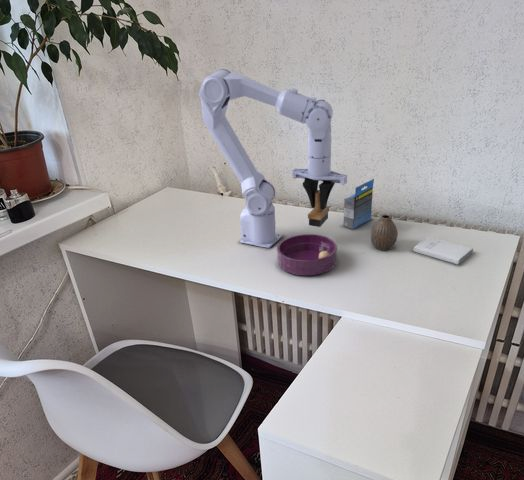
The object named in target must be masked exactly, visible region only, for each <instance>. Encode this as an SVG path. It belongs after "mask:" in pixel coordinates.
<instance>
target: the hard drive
mask: <svg viewBox="0 0 524 480" xmlns="http://www.w3.org/2000/svg"><path fill="white" fill-rule="evenodd" d="M412 252H414V253H417V254H421V255H424V256H426V257H431V258H435V259H437V260H441V261H445V262H447V263H451V264H453V265H456V266H457V265H460V264H461V263H463V262H464V261H465V260H466V259H467V258H469V257H470V256H471V255H472V254H473V252H474V248H473V247H470V246H467V245H462V244H459V243H455V242H451V241H447V240H443V239H441V238H436V237H434V236H433V237H432V236H427V237H425V238H424V239H422V240H421V241H420V242H418V243H417V244H415V245H414V247H413V250H412Z"/></svg>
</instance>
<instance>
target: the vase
mask: <svg viewBox="0 0 524 480" xmlns="http://www.w3.org/2000/svg"><path fill="white" fill-rule="evenodd" d="M398 235H399V231H398V227H397V225H396V223H395V222H394V221H393V219H392V216H391V215H390V214H382V215H381V216H380V217H379V219H378V220H377V221H376V222H375V223H374V225H373V226H372V229H371V230H370V241H371V244H372V246H373V247H374V248H375V249H376V250H378V251H389V250H390V249H392V248H393V247H394V246H395V245H396V242H397V240H398Z"/></svg>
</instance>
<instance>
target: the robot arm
mask: <svg viewBox="0 0 524 480" xmlns="http://www.w3.org/2000/svg"><path fill="white" fill-rule="evenodd" d="M298 91H299V90H298V89H296V88H294V87H293V88H292V89H288V88H286V89H284V90H283V91H279V90H276V89H274V88H272V87H270V86H267V85H265V84H263V83H261V82H259V81H256V80H254V79H252V78H250V77H248V76H246V75H244V74H242V73H239V72H237V71H231V70H230V69H228V68H219V69H216V70H215V71H214V73H212V74H211V75H208V76H206V77H205V78H204V79H203V81H202V83H201V87H200V89H199V94H198V97H199V98H200V102H201V113H202V121H203V123H204V125H205V127H206V128H207V130H208V131H209V133H210V135H211V137H212V138H213V140H214V141H215V143H216V145H217V146H218V148H219V150H220V152H221V153H222V154H223V156H224V157H225V159H226V161H227V163H228V164H229V166H230V168H231V169H232V171H233V173H234V174H235V176H236V178H237V180H238V181H239V182H240V187H241V194H242V196H243V197H244V200H245V207H244V208H243V209H242V211H241V213H240V217H239V227H240V237H241V239H240V241H239V242H240V243H241V244H245V245H251V246H256V247H261V248H266V249H270V248H271V247H272V246H274V245H275V244H276V243H277V242H278V241H279V240H280V239H281V238H283V235H282V234H278V233H277V229H276V228H277V227H276V208H275V205H274V204H273V200H274V199H275V197H276V188H275V186H274V185H273V183H271V182H270V181H269V180H267V179H266V177H265V175H264V174H262V173H261V172H259V171H258V170H257V169H256V167H255V165H254V163H253V162H252V160H251V157H250V156H249V154H248V153H247V151H246V149H245V148H244V146H243V144H242V143H241V141H240V139H239V138H238V136H237V134H236V132H235V130H234V128H233V127H232V125H231V124H230V122H229V120H228V119H227V117H226V113H227V109H228V105H229V101H232V100H235V99H239V98H241V97H246V98H248V99H252V100H255V101H257V102H261V103H263V104H266V105H270V106H273V107H275V108H276V110H277V113H278V114H279V115H280V116H283V117H286V118H288V119H290V120H293V121H296V122H298V123H300V124H306V126H307V128H308V136H307V168H294V169H293V170H292V171H291V176H292V179H303V182H302V187H303V188H304V190H305V192H306V194H307V197H308V200H309V203H310V208H311V209H314V208H315V191H316V190H320V196H321V203H320V207H321V209H322V210H324V209H325V208H326V207H327V205H328V201H329V197H330V195H331V192H332V190H333V188H334V186H335V184H339V185H341V186H345V185H346V184H347V183H348V174H344V173H340V172H336V171H333V170H332V169H331V168H332V166H331V164H332V134H331V133H332V127H331V125H332V124H331V123H332V119H333V116H334V112H333V110H334V109H333V107H332V105H331V104H330V103H329V102H328V101H327V100H325V99H323V98H322V99H321V98H319V99H318V98H317V97H315V96H312V97H309V96H306V95H304V94H301V93H299V92H298ZM319 182H321V183H320V184H319Z"/></svg>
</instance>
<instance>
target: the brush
mask: <svg viewBox="0 0 524 480" xmlns="http://www.w3.org/2000/svg"><path fill="white" fill-rule="evenodd" d="M320 203H321V196H320V189H317V190H316V191H315V207H314V208H312V210H311V211H309V212H308V214H307V219H308V226H311V227H317V228H321V227H322V226H323V225H324V223H325V222H326V221H327V220H328V219H329V212H330V206H326V208H325V209H324V210H322V209H321V207H320Z"/></svg>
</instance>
